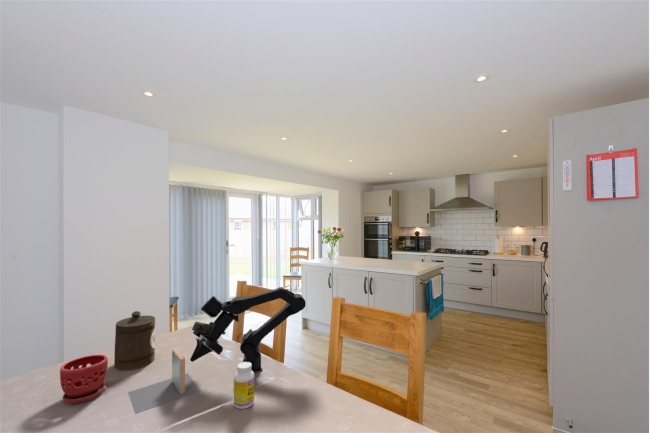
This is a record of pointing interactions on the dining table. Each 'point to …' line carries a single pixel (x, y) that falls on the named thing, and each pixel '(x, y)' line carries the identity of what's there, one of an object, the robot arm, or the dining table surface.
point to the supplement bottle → (244, 386)
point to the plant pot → (83, 378)
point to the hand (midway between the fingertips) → (191, 360)
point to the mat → (160, 394)
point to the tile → (178, 370)
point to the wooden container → (134, 342)
